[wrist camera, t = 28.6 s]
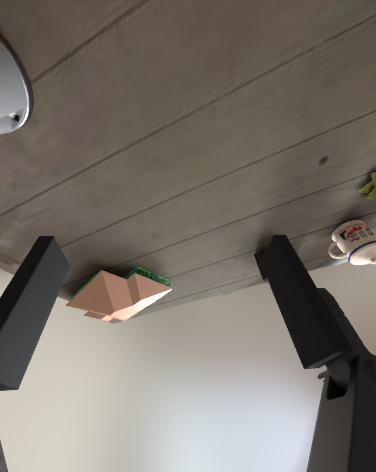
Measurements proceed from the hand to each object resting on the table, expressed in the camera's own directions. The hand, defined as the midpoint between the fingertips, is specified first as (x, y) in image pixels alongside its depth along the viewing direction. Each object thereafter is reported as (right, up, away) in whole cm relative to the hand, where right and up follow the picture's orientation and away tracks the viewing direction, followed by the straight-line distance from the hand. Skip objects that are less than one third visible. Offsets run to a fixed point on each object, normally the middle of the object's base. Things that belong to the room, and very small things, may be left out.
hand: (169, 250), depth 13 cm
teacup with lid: (+46, +2, +46) cm, 65 cm away
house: (-24, -18, +59) cm, 66 cm away
